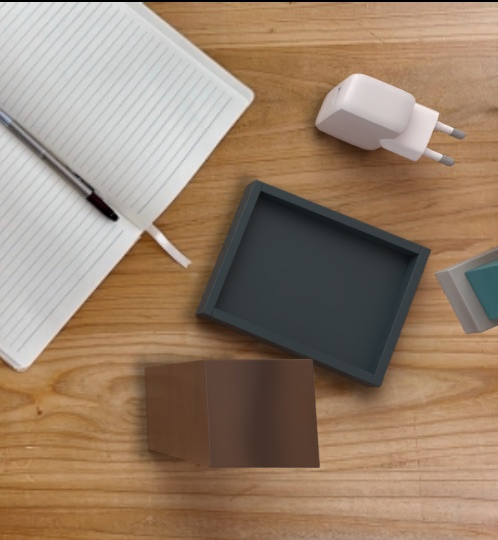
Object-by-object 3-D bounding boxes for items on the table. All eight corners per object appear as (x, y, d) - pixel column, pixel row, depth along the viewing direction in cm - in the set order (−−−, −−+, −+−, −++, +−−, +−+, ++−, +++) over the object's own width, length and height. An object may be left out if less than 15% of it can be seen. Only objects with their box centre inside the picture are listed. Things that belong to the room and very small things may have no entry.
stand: (226, 366, 74) (313, 358, 56) (230, 449, 73) (320, 468, 55) (144, 366, 74) (205, 359, 57) (147, 449, 73) (210, 467, 56)
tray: (417, 253, 75) (431, 249, 72) (367, 387, 73) (380, 387, 71) (246, 185, 76) (255, 178, 74) (194, 315, 75) (202, 312, 72)
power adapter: (446, 136, 76) (487, 115, 70) (426, 185, 75) (466, 168, 70) (327, 86, 77) (357, 61, 71) (306, 134, 77) (335, 113, 71)
